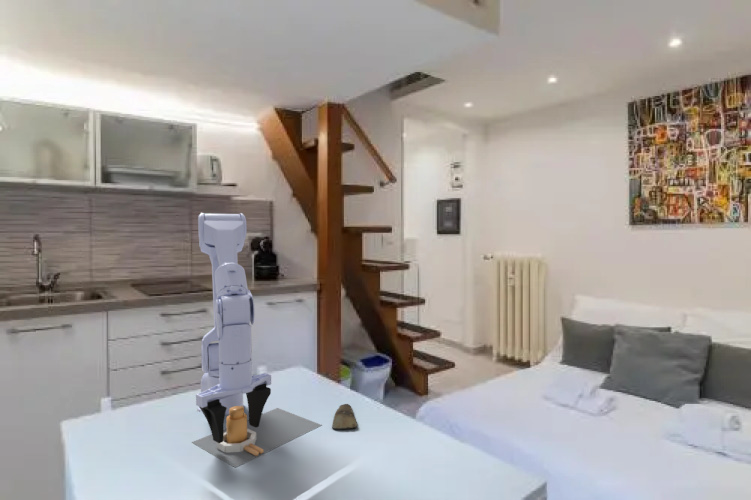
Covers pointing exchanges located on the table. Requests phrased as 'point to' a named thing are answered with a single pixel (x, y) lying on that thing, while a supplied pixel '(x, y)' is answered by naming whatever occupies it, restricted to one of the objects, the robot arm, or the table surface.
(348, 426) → the stone
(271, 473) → the table surface
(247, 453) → the mat
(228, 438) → the stepped orange capsule
